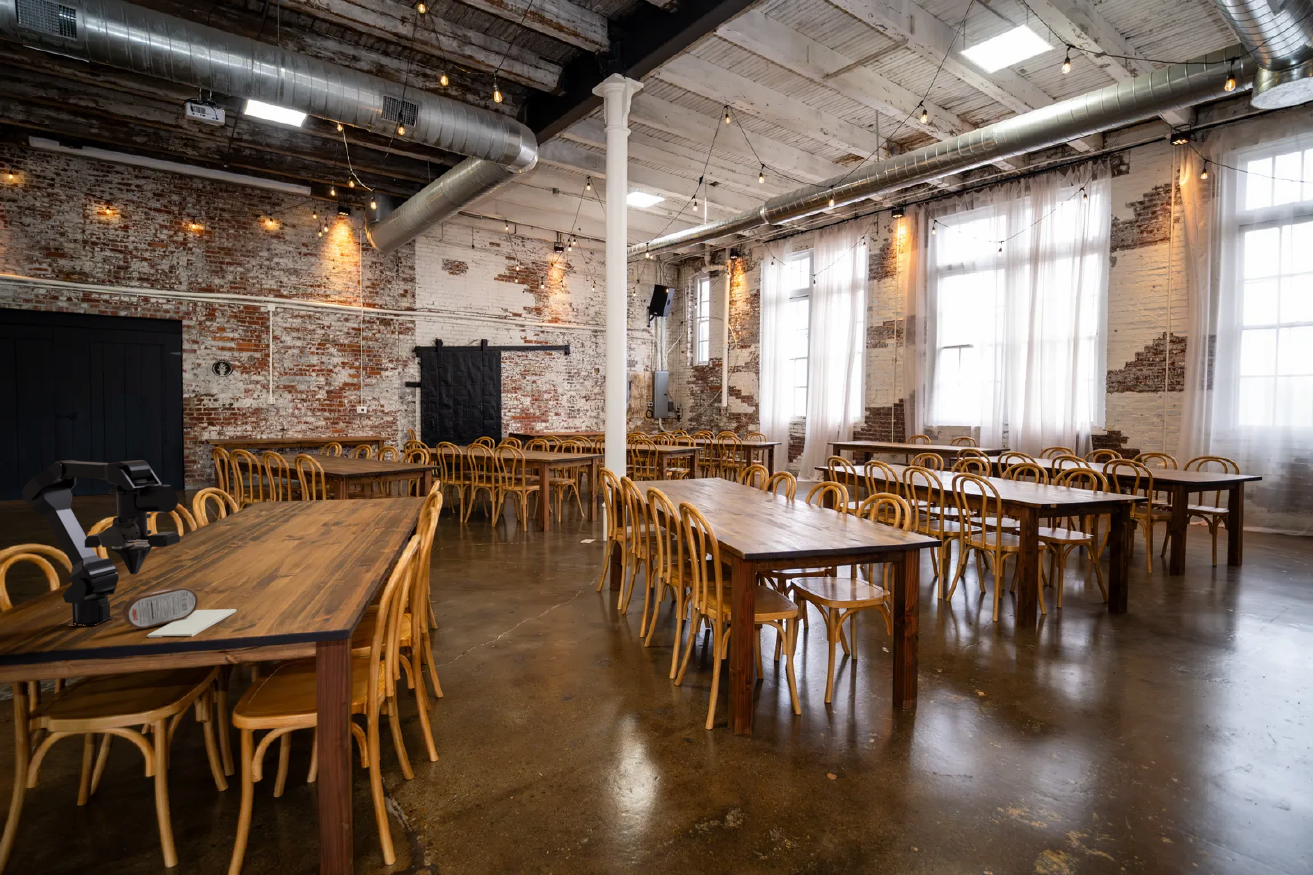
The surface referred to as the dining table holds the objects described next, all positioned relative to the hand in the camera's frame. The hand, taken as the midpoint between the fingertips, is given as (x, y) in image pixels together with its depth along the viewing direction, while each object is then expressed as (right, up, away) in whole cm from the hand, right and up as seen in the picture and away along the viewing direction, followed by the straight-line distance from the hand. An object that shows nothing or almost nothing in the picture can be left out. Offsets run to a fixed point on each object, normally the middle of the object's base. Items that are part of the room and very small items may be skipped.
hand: (134, 574), depth 160 cm
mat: (+13, -13, +2) cm, 19 cm away
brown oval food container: (+7, -13, +1) cm, 14 cm away
